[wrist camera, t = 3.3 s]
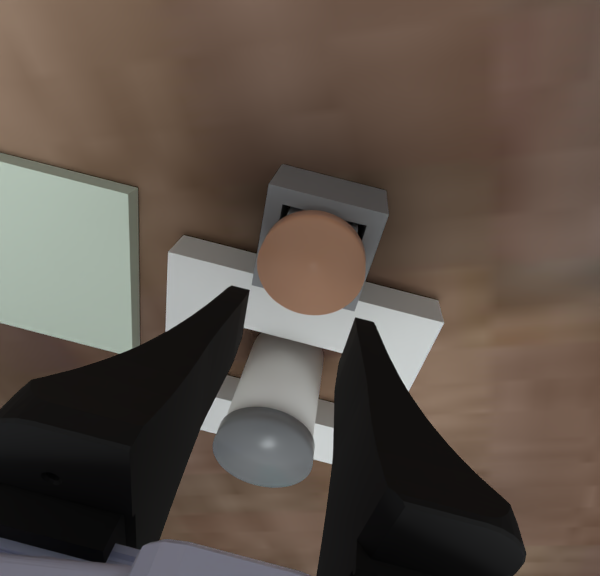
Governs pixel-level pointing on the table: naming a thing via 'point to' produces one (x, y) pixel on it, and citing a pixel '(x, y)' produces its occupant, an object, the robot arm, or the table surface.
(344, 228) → the plunger
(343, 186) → the housing
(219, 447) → the cylinder
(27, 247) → the mat
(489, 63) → the table surface
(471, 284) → the table surface
